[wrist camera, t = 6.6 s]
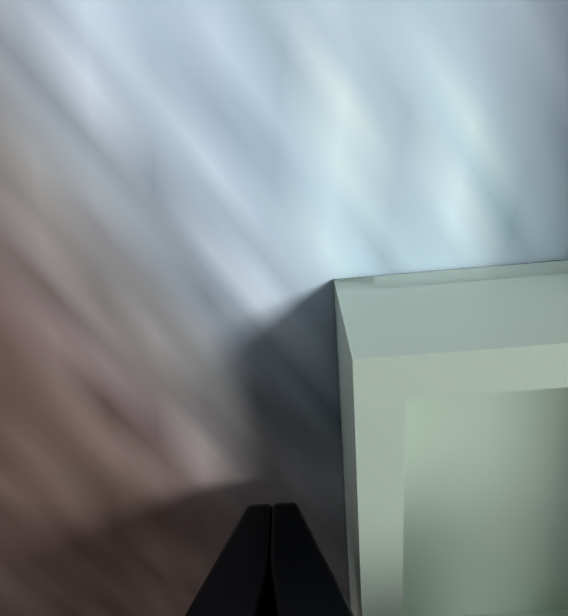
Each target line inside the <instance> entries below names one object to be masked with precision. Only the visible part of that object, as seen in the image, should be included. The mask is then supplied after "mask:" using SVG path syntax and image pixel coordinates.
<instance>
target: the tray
mask: <svg viewBox="0 0 568 616" xmlns="http://www.w3.org/2000/svg"><path fill="white" fill-rule="evenodd" d="M334 294H335V314H336V333H337V353H338V373H339V392H340V412H341V432H342V451H343V471H344V491H345V510H346V530H347V550H348V570H349V589H350V608H351V610H352V612H353V614H354V616H568V260H564V261H552V262H540V263H528V264H515V265H503V266H491V267H479V268H467V269H454V270H442V271H430V272H418V273H406V274H393V275H381V276H369V277H357V278H345V279H334Z"/></svg>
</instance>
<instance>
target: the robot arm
mask: <svg viewBox="0 0 568 616" xmlns="http://www.w3.org/2000/svg"><path fill="white" fill-rule="evenodd" d="M185 616H354V614H353V612H352V610H351V608H350V606H349V604H348V602H347V600H346V599H345V597H344V595H343V593H342V591H341V589H340V587H339V585H338V583H337V581H336V579H335V577H334V575H333V573H332V571H331V569H330V567H329V565H328V563H327V561H326V560H325V558H324V556H323V554H322V552H321V550H320V548H319V546H318V544H317V542H316V540H315V538H314V536H313V534H312V532H311V530H310V528H309V526H308V524H307V523H306V521H305V519H304V517H303V515H302V513H301V511H300V509H299V507H298V505H297V504H296V503H295V502H283V503H275V504H273V506H271V505H270V504H254V505H249V506H248V507H247V508H246V509H245V511H244V513H243V514H242V516H241V518H240V520H239V521H238V523H237V525H236V527H235V528H234V530H233V532H232V534H231V535H230V537H229V539H228V541H227V542H226V544H225V546H224V548H223V549H222V551H221V553H220V555H219V556H218V558H217V560H216V562H215V563H214V565H213V567H212V569H211V570H210V572H209V574H208V576H207V577H206V579H205V581H204V583H203V585H202V586H201V588H200V590H199V592H198V593H197V595H196V597H195V599H194V600H193V602H192V604H191V606H190V607H189V609H188V611H187V613H186V614H185Z"/></svg>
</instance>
